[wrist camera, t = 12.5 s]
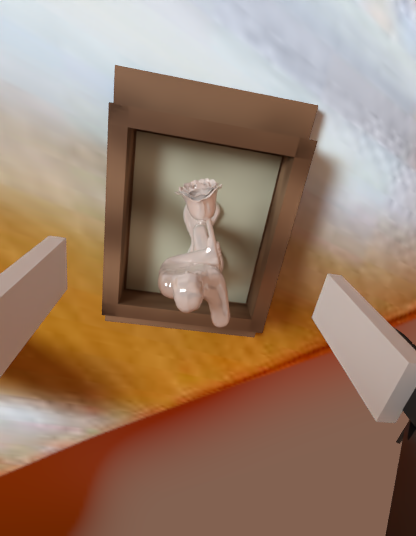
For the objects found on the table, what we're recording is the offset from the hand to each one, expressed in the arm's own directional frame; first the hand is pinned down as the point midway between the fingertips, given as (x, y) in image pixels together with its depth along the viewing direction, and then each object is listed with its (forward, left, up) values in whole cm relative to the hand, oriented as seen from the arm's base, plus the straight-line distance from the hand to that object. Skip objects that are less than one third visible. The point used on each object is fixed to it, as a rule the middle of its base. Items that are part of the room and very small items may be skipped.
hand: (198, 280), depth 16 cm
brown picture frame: (0, 0, -11) cm, 11 cm away
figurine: (0, 0, -10) cm, 10 cm away
